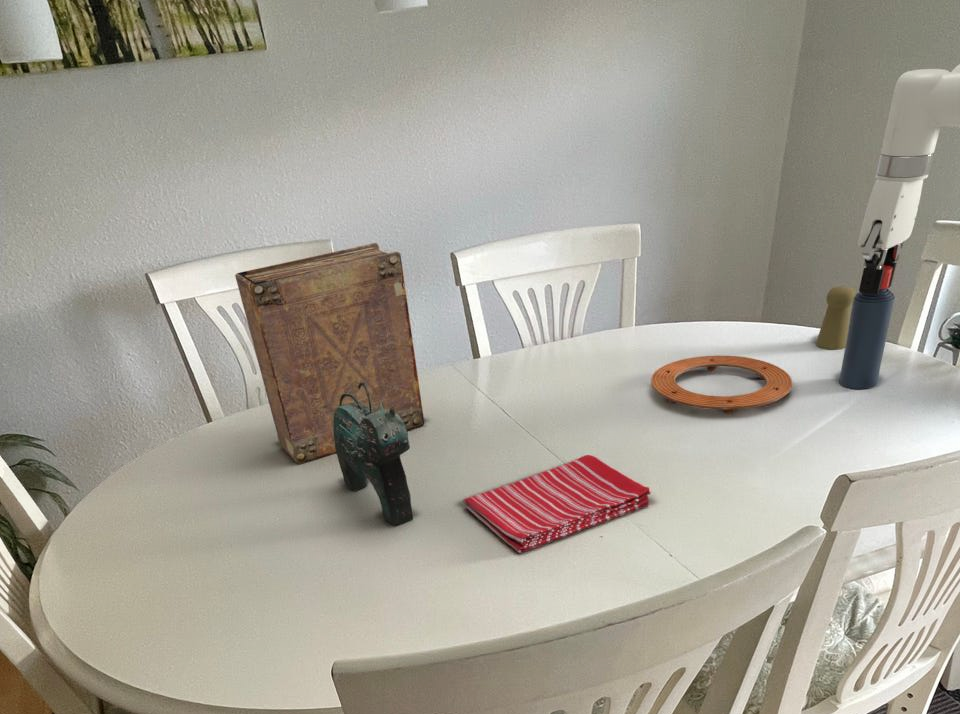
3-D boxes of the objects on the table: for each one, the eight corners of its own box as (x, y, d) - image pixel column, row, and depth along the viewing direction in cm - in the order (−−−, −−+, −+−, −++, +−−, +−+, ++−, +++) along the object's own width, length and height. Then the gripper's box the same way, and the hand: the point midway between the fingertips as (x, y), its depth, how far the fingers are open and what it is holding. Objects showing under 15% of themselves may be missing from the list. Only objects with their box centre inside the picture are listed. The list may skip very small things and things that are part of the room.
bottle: (883, 379, 143) (907, 267, 131) (866, 391, 140) (889, 277, 128) (849, 373, 147) (869, 264, 135) (832, 384, 144) (851, 273, 132)
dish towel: (655, 504, 116) (656, 488, 114) (520, 556, 108) (519, 540, 106) (588, 463, 128) (588, 448, 126) (462, 507, 120) (460, 492, 118)
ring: (765, 361, 156) (767, 348, 154) (811, 411, 136) (813, 397, 135) (639, 372, 157) (639, 360, 155) (666, 424, 137) (667, 411, 135)
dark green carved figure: (425, 521, 118) (406, 393, 105) (387, 536, 115) (363, 406, 103) (367, 475, 131) (344, 356, 119) (332, 488, 129) (305, 368, 116)
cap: (870, 282, 136) (874, 263, 134) (892, 285, 133) (896, 266, 131) (859, 287, 134) (863, 269, 132) (881, 290, 131) (885, 271, 129)
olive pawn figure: (814, 348, 159) (825, 291, 152) (816, 338, 163) (827, 283, 156) (846, 350, 157) (858, 292, 150) (848, 340, 161) (859, 283, 154)
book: (403, 410, 152) (378, 242, 133) (425, 425, 145) (401, 250, 126) (280, 447, 143) (234, 273, 124) (296, 465, 136) (251, 284, 118)
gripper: (903, 156, 129) (875, 275, 140) (855, 174, 120) (829, 298, 132) (951, 159, 124) (918, 281, 136) (903, 177, 116) (873, 306, 127)
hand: (874, 288), depth 134 cm, fingers closed on cap, 3 cm apart
